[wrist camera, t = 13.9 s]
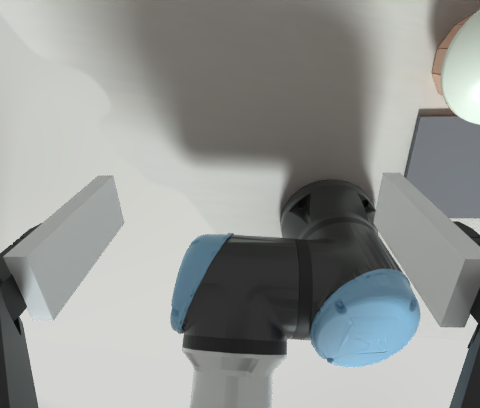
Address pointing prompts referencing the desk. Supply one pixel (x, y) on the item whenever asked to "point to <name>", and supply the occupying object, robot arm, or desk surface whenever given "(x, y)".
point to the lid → (463, 72)
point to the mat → (447, 164)
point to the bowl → (442, 52)
